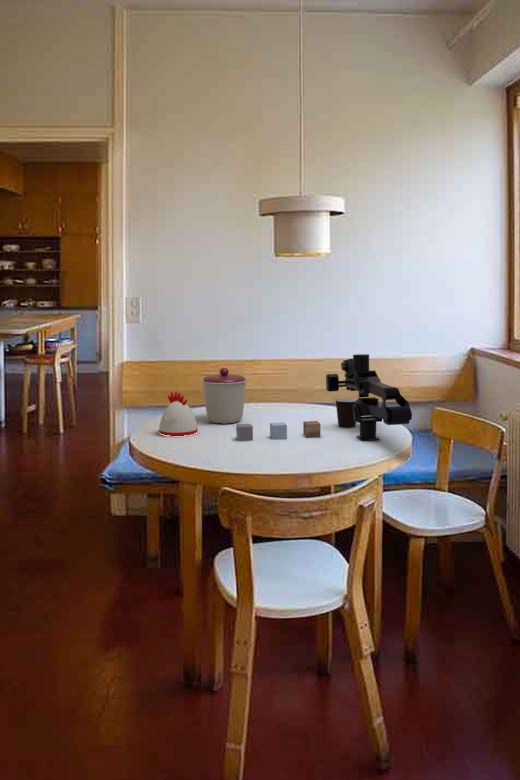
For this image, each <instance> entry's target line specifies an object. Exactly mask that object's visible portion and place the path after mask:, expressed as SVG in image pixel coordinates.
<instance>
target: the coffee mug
mask: <svg viewBox="0 0 520 780" xmlns="http://www.w3.org/2000/svg"><path fill="white" fill-rule="evenodd" d="M356 400H358V398H351V397H341V398H336V399H335V406H336V417H337V425H338V427H339V428H340V429H341V428H342V429H352V428H356V425H357V424H356V423H357V422H355V420H354V414H353V405H354V403H355V401H356Z"/></svg>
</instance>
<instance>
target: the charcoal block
mask: <svg viewBox="0 0 520 780" xmlns="http://www.w3.org/2000/svg"><path fill="white" fill-rule="evenodd" d="M235 424H236V433H235V434H236V440H237V439H238V440H237V441H238V442H248V441H249V442H250V441H252V442H253V441H254V431H253V430H254V427H253V425H252V424H251V423H235Z"/></svg>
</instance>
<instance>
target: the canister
mask: <svg viewBox="0 0 520 780" xmlns="http://www.w3.org/2000/svg"><path fill="white" fill-rule="evenodd" d="M248 379H249V378H246V377H244V376H243V375H241V374H232V373H230V370H229V369H228V368H227V367H221V368H220V369H219V373H217V374H209V375H207V376H205V377H204V378H201V379H200V382H201V383H202V388H203V389H202V391H203V396H204V406H205V412H206V417H207V420H208V421H210V422H211V423H212V424H213V423H214V424H218V423H222V424H221V425H225V424H226V425H230V424H237V423H238V422H240V421H241V420H242V418H243V415H244V407H245V397H246V390H247V389H246V387H247V382H248ZM229 423H230V424H229Z"/></svg>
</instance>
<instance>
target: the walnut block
mask: <svg viewBox="0 0 520 780" xmlns="http://www.w3.org/2000/svg"><path fill="white" fill-rule="evenodd" d="M302 423H303V424H302V426H303V428H302V429H303V430H302V431H303V432H302V433H303V434H302V436H303V437H305V439H314V438H315V439H317V438H319V439H320V438H321V423H320V422H319V421H318V420H311V421H310V420H309V421H308V420H307V421H303V422H302Z"/></svg>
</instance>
